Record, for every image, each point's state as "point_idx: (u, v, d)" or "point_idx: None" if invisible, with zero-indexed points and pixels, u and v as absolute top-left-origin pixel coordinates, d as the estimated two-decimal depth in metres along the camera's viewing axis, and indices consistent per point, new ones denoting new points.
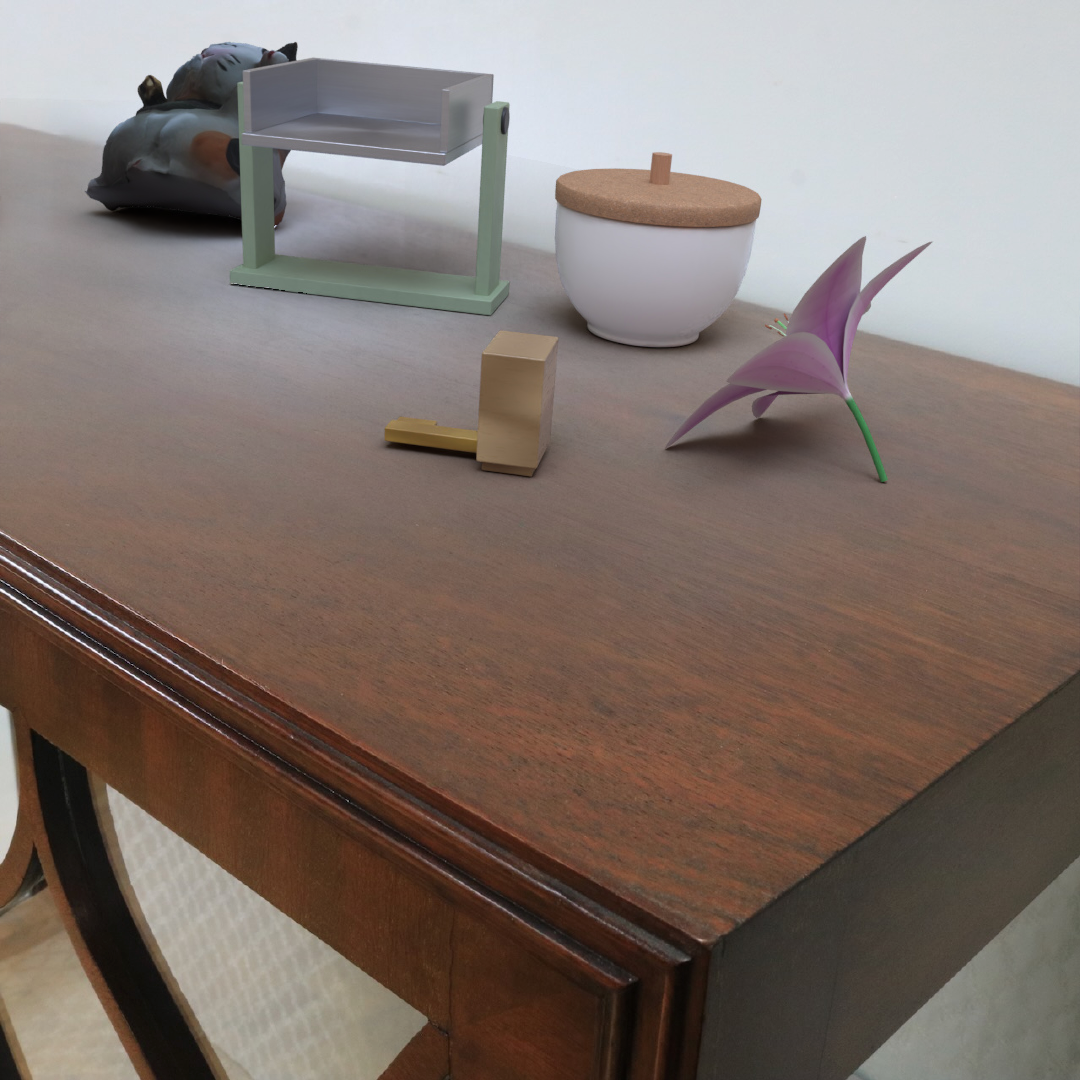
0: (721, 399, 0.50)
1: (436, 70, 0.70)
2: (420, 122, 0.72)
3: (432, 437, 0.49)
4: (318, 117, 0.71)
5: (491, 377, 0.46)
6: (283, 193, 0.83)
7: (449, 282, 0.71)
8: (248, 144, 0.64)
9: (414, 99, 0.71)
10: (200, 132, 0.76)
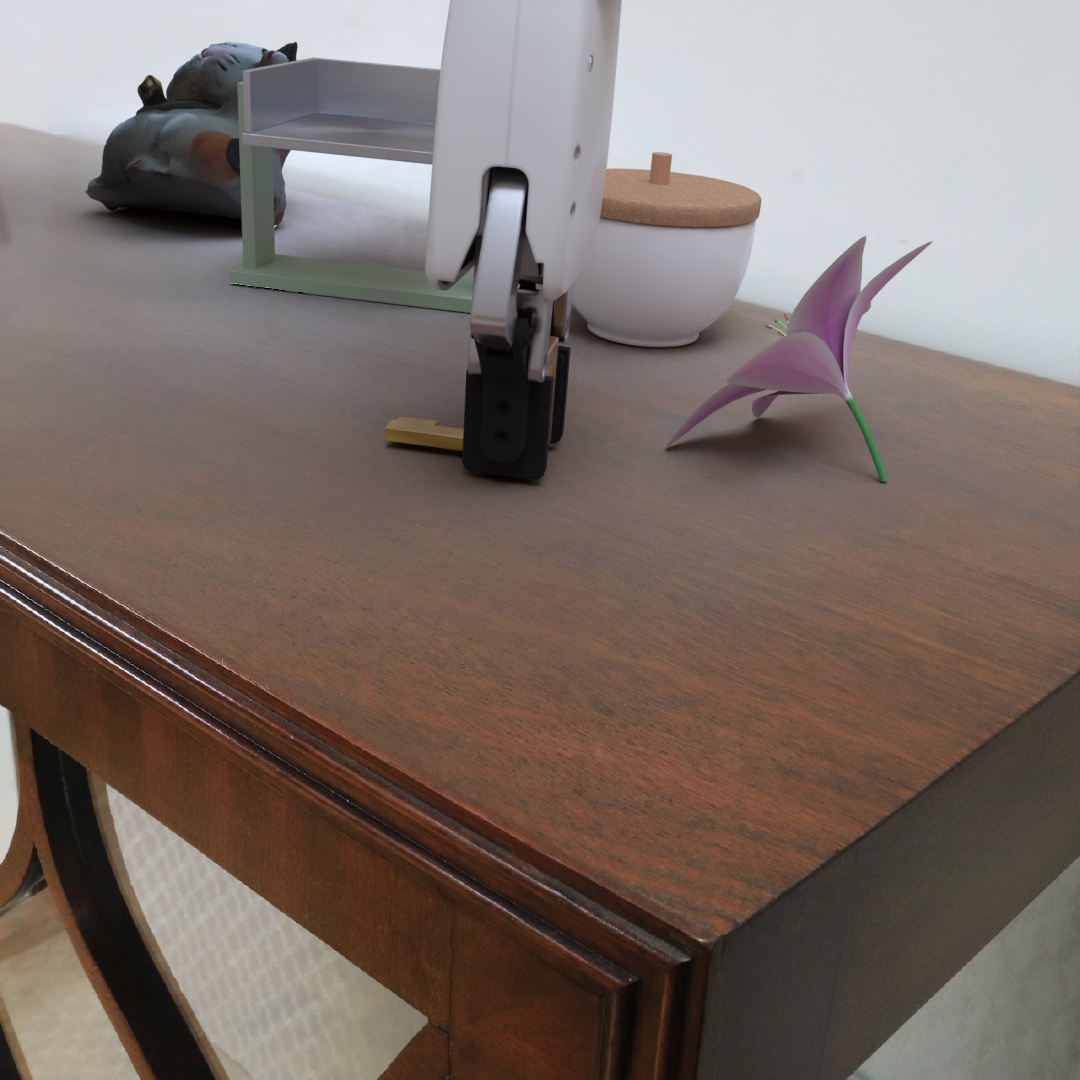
0: (721, 399, 0.50)
1: (436, 70, 0.70)
2: (420, 122, 0.72)
3: (432, 437, 0.49)
4: (318, 117, 0.71)
5: None
6: (283, 193, 0.83)
7: None
8: (248, 144, 0.64)
9: (414, 99, 0.71)
10: (200, 133, 0.76)
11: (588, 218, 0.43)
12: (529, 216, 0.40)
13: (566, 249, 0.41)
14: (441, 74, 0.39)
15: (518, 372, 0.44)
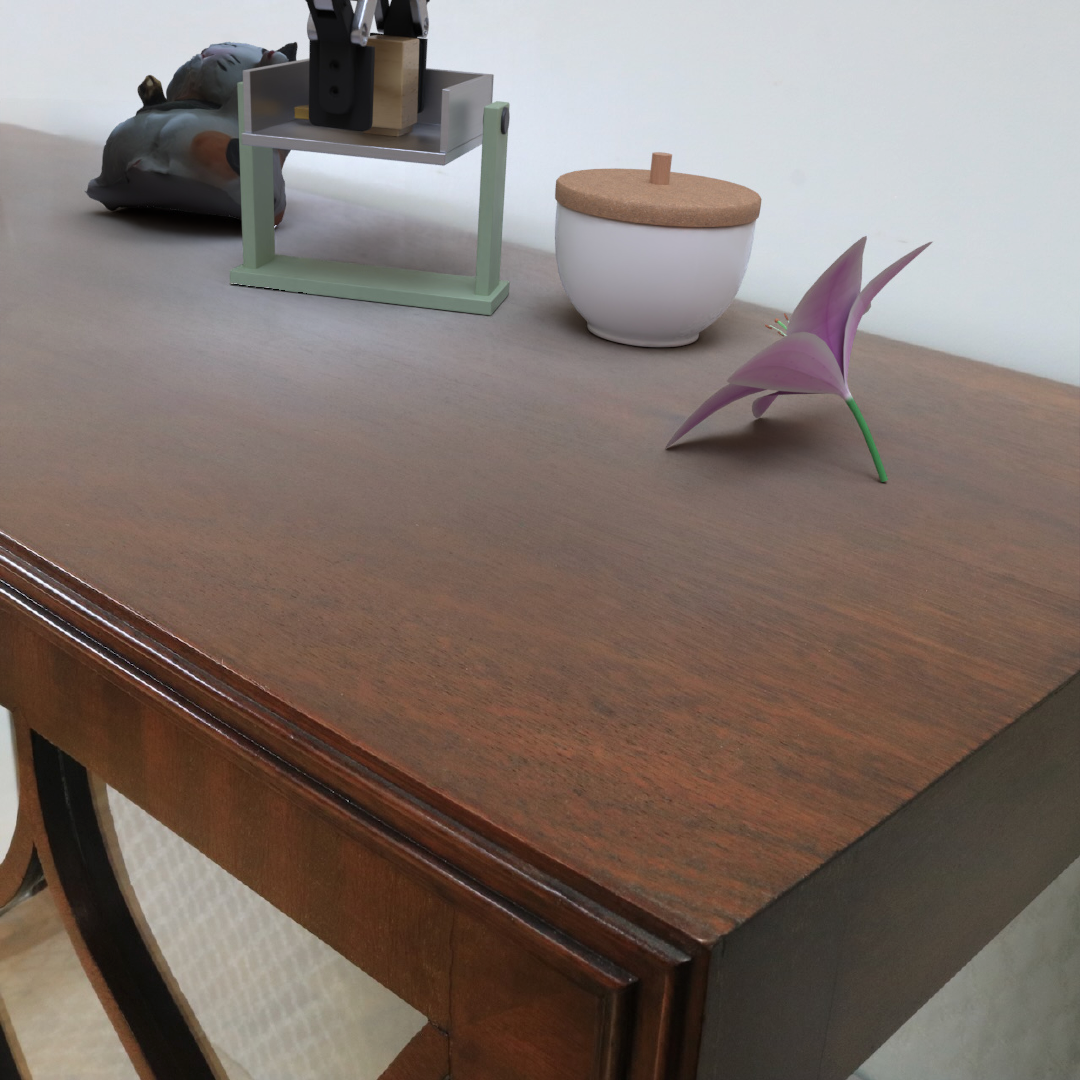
0: (721, 399, 0.50)
1: (436, 70, 0.70)
2: (420, 122, 0.72)
3: None
4: None
5: None
6: (283, 193, 0.83)
7: (449, 282, 0.71)
8: (248, 144, 0.64)
9: None
10: (200, 133, 0.76)
11: None
12: None
13: None
14: None
15: (343, 33, 0.59)
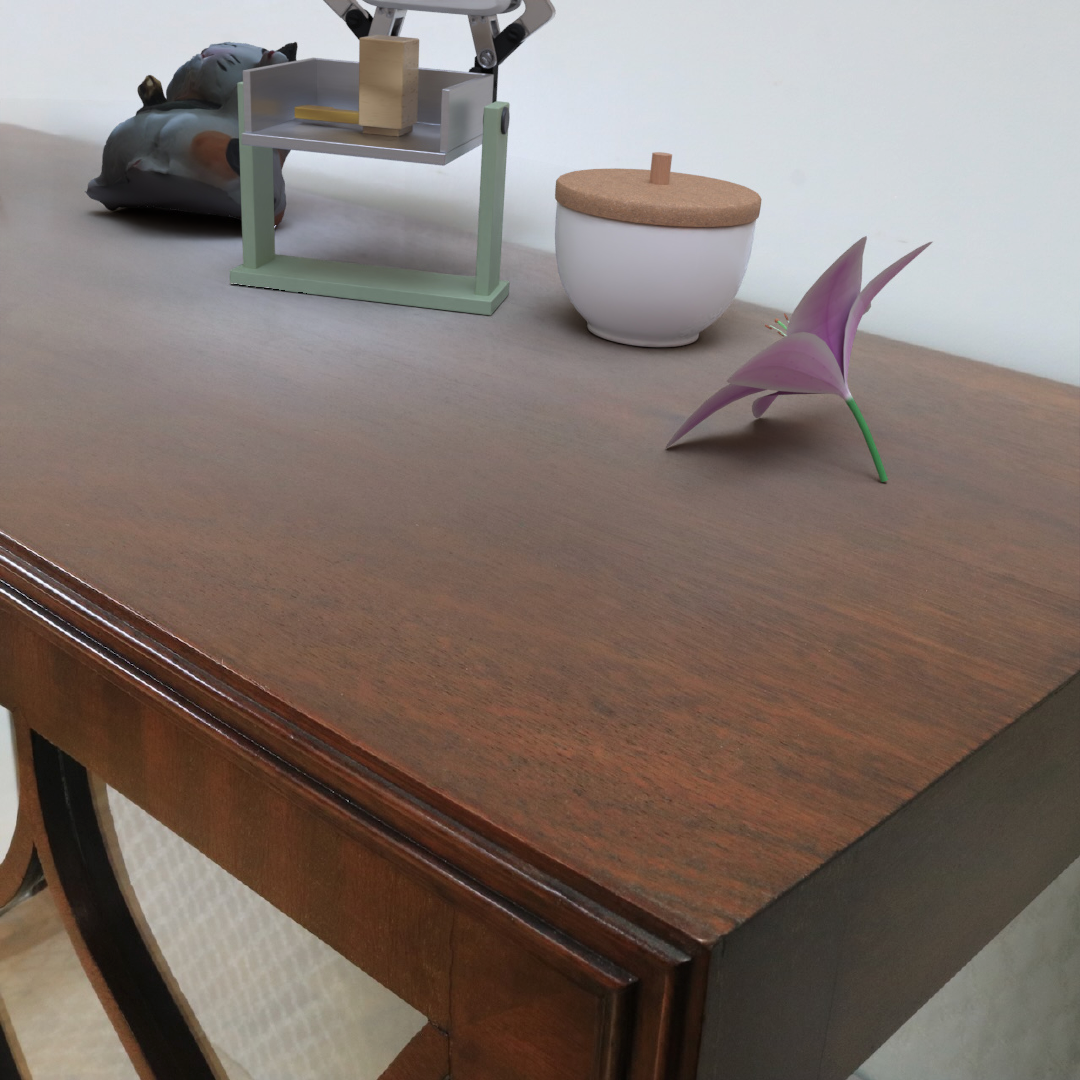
0: (721, 399, 0.50)
1: (436, 70, 0.70)
2: (420, 122, 0.72)
3: (328, 113, 0.67)
4: None
5: (366, 57, 0.64)
6: (283, 193, 0.83)
7: (449, 282, 0.71)
8: (248, 144, 0.64)
9: None
10: (200, 133, 0.76)
11: None
12: None
13: None
14: None
15: None
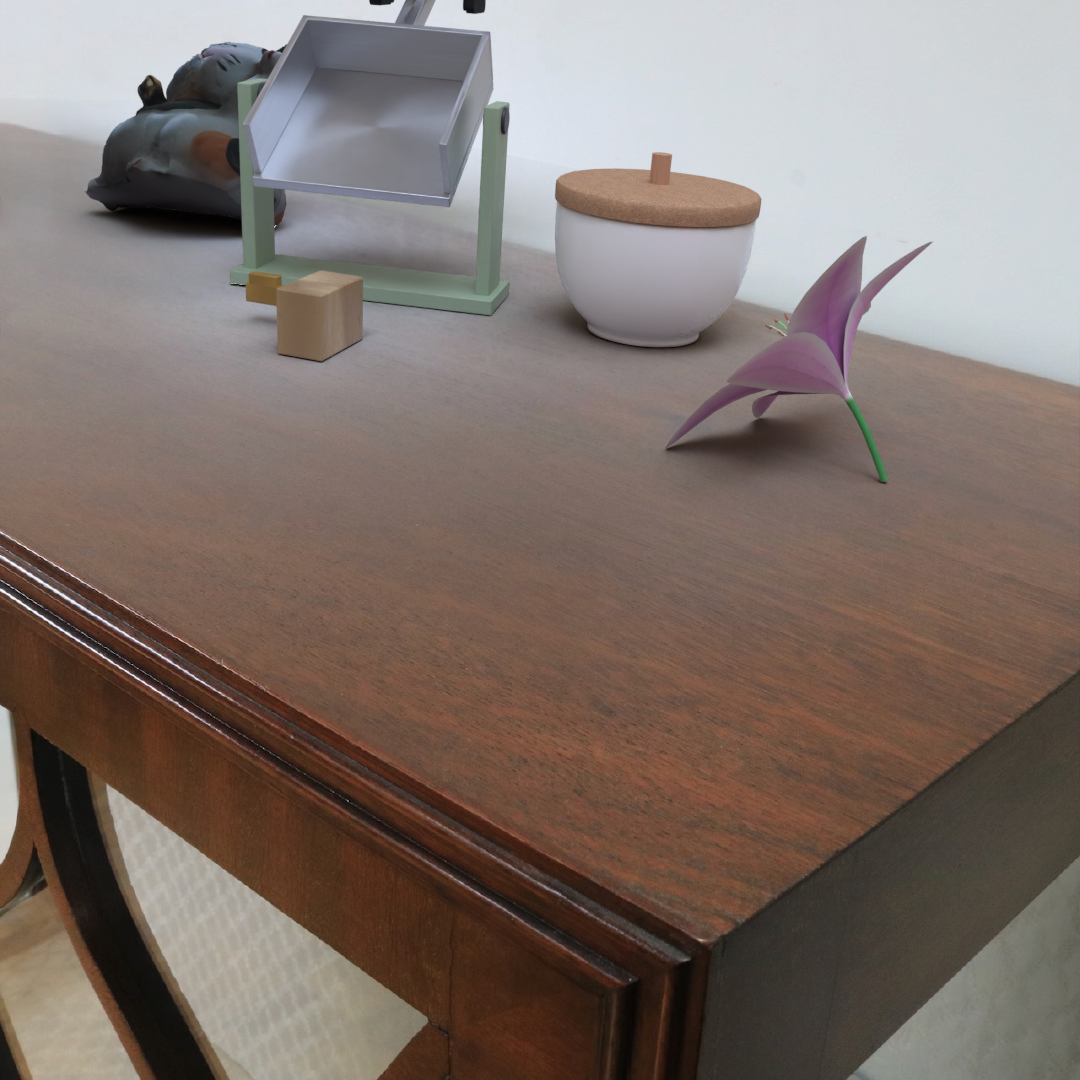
0: (721, 399, 0.50)
1: (431, 30, 0.68)
2: (421, 77, 0.71)
3: None
4: (319, 88, 0.70)
5: None
6: (283, 193, 0.83)
7: (449, 282, 0.71)
8: (260, 186, 0.66)
9: (412, 56, 0.70)
10: (200, 132, 0.76)
11: None
12: None
13: None
14: None
15: None
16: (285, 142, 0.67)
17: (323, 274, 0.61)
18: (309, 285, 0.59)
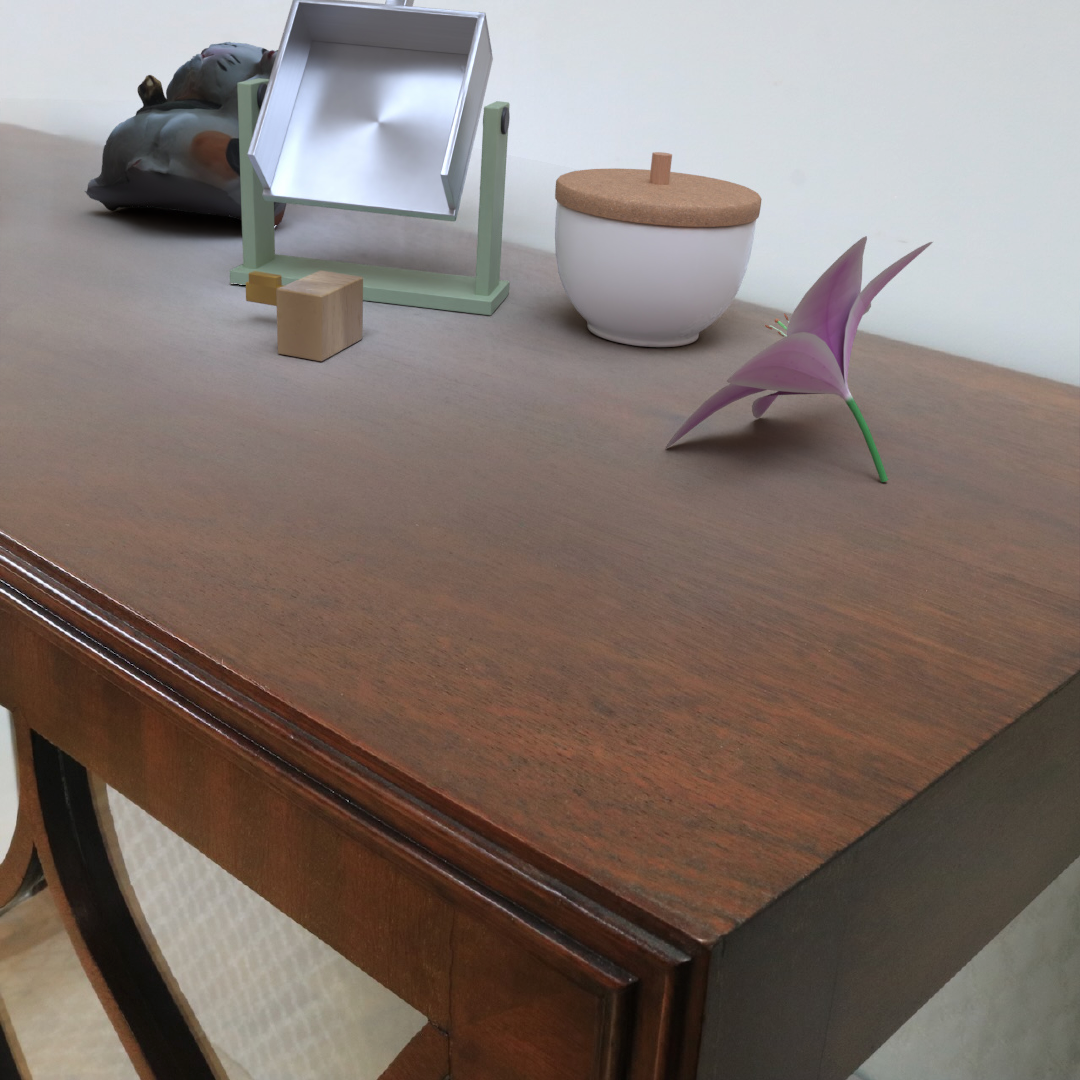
0: (721, 399, 0.50)
1: (425, 13, 0.67)
2: (419, 51, 0.69)
3: None
4: (317, 70, 0.70)
5: None
6: None
7: (449, 282, 0.71)
8: (270, 200, 0.68)
9: (408, 34, 0.68)
10: (200, 132, 0.76)
11: None
12: None
13: None
14: None
15: None
16: (290, 146, 0.68)
17: (323, 274, 0.61)
18: (309, 285, 0.59)
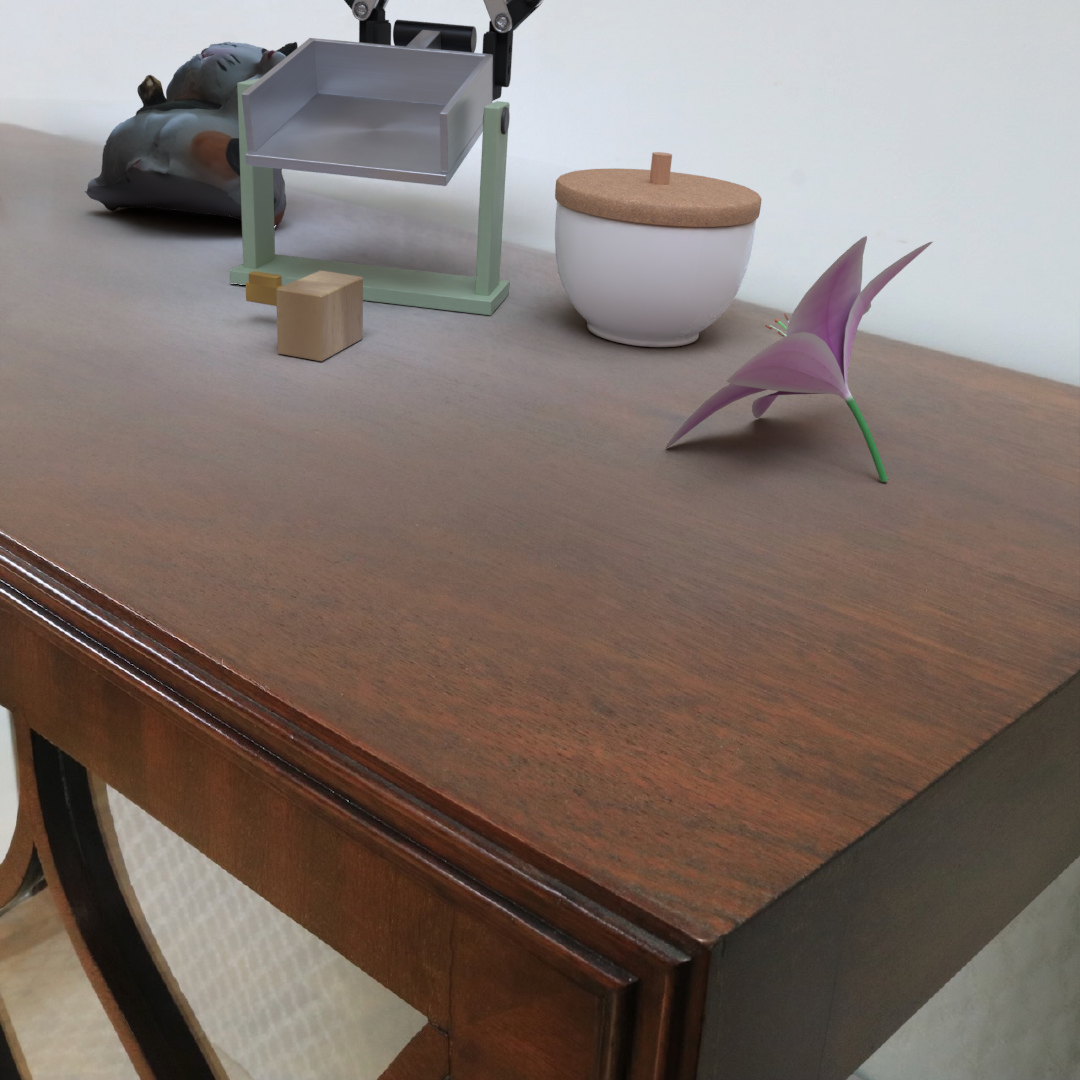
0: (721, 399, 0.50)
1: (434, 51, 0.70)
2: (421, 103, 0.71)
3: None
4: (319, 104, 0.71)
5: None
6: (283, 193, 0.83)
7: (449, 282, 0.71)
8: (252, 164, 0.64)
9: (414, 80, 0.71)
10: (200, 133, 0.76)
11: None
12: None
13: None
14: None
15: None
16: (281, 135, 0.67)
17: (323, 274, 0.61)
18: (309, 285, 0.59)
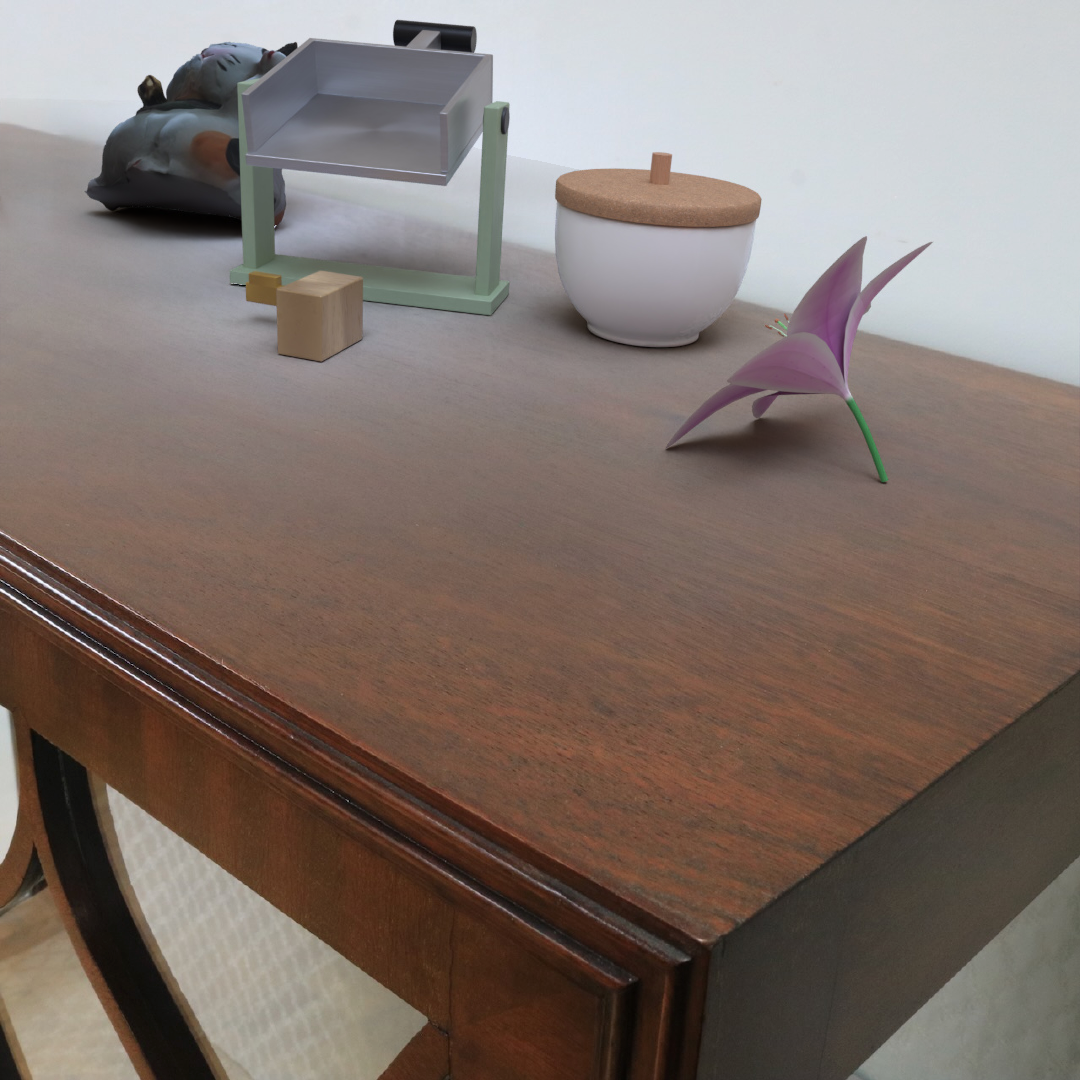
0: (721, 399, 0.50)
1: (435, 51, 0.70)
2: (421, 103, 0.71)
3: None
4: (319, 104, 0.71)
5: None
6: (283, 193, 0.83)
7: (449, 282, 0.71)
8: (252, 164, 0.64)
9: (414, 80, 0.71)
10: (200, 132, 0.76)
11: None
12: None
13: None
14: None
15: None
16: (281, 134, 0.67)
17: (323, 274, 0.61)
18: (309, 285, 0.59)
